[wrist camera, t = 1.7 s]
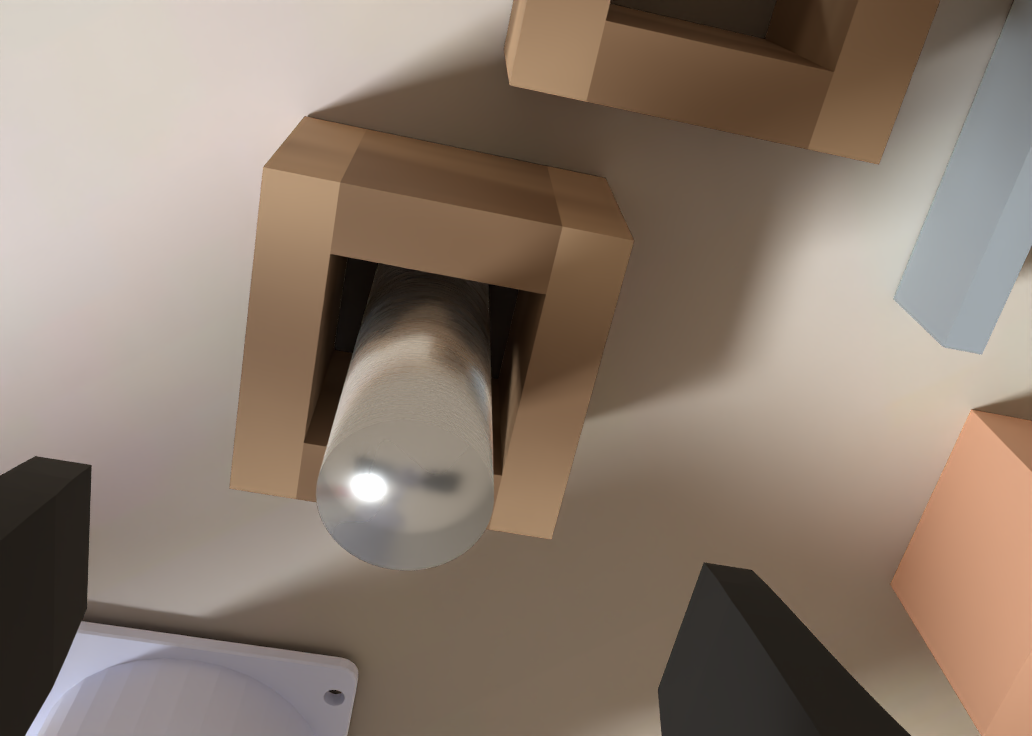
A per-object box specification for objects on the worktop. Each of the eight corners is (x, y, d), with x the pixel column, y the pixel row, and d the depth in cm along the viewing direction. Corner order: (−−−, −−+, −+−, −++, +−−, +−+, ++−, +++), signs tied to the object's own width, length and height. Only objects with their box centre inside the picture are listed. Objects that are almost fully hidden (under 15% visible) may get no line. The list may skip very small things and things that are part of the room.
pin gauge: (476, 349, 21) (475, 582, 14) (366, 329, 21) (305, 556, 14) (499, 244, 20) (510, 437, 13) (383, 222, 20) (328, 406, 13)
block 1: (539, 434, 22) (551, 539, 18) (272, 389, 21) (229, 488, 18) (605, 178, 20) (633, 241, 16) (304, 115, 19) (263, 167, 15)
